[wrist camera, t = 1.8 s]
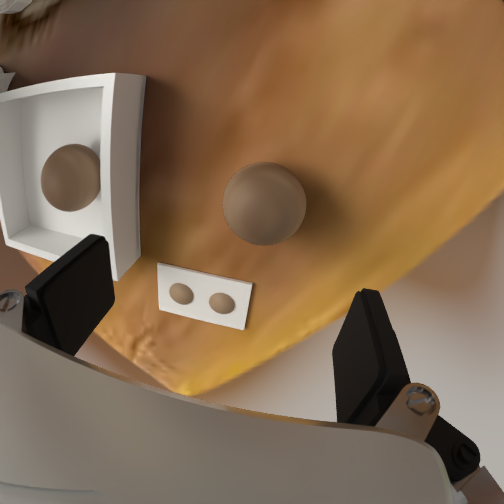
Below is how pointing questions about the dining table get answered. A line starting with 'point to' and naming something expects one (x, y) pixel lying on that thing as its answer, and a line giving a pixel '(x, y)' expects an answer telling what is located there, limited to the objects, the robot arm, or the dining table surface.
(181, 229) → the dining table surface
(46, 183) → the ball
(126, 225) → the bin
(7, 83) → the paper towel roll
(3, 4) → the white cup
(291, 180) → the walnut ball
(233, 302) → the card
